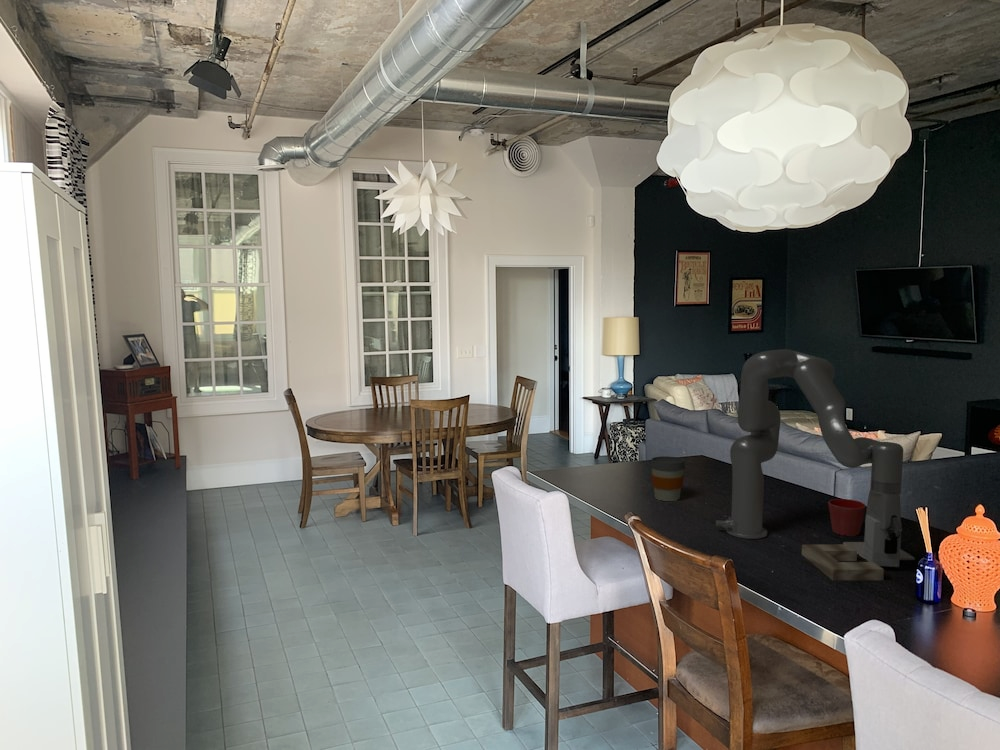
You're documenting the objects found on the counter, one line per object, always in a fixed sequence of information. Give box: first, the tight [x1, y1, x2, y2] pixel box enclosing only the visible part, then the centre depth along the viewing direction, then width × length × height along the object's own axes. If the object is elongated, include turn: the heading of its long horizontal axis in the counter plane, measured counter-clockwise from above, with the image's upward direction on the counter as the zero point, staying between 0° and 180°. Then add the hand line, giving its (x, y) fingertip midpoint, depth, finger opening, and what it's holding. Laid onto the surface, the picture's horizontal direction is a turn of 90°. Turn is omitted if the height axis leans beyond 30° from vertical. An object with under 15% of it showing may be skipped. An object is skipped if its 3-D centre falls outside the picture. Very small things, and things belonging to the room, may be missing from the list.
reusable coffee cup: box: [650, 455, 686, 502], centre depth 275 cm, size 13×13×15 cm
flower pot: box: [827, 498, 867, 537], centre depth 234 cm, size 11×11×10 cm
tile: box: [842, 541, 916, 561], centre depth 217 cm, size 14×14×1 cm
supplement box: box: [863, 514, 903, 568], centre depth 204 cm, size 7×7×13 cm
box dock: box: [801, 543, 885, 582], centre depth 205 cm, size 14×20×3 cm
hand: (882, 547), depth 204 cm, fingers closed on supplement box, 8 cm apart
